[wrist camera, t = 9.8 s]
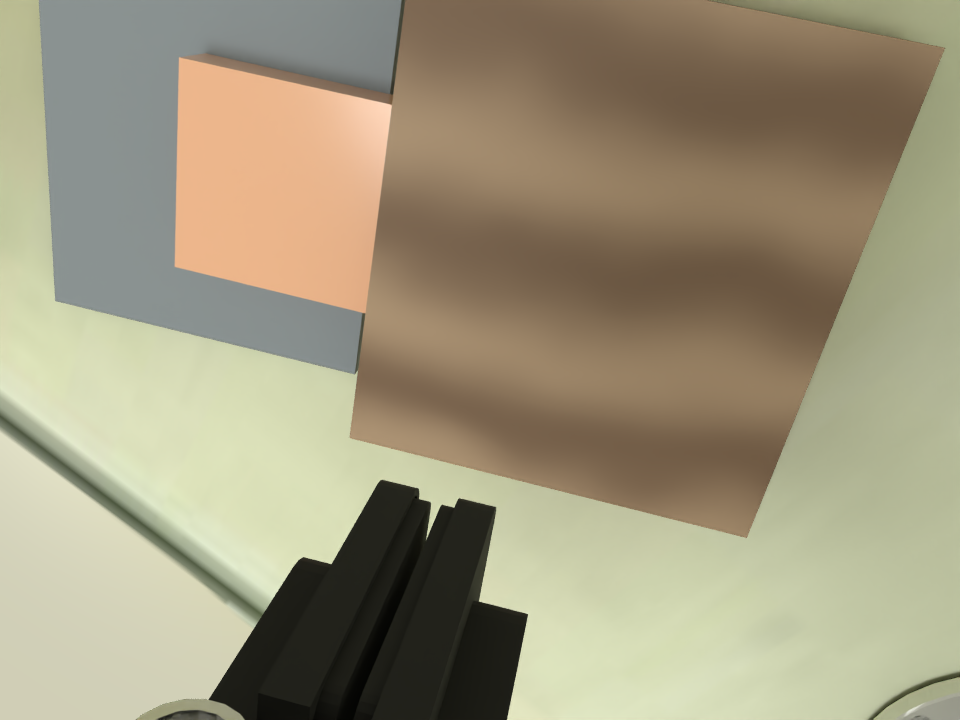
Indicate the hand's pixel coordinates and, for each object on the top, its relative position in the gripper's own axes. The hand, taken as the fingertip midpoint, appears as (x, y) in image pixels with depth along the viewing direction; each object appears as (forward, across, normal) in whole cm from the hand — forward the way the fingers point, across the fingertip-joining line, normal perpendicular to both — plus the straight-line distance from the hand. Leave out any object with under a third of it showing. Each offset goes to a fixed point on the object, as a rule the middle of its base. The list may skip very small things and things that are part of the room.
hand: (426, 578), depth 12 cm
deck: (+22, -2, +1) cm, 22 cm away
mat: (+22, +14, 0) cm, 26 cm away
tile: (+21, +11, 0) cm, 24 cm away
